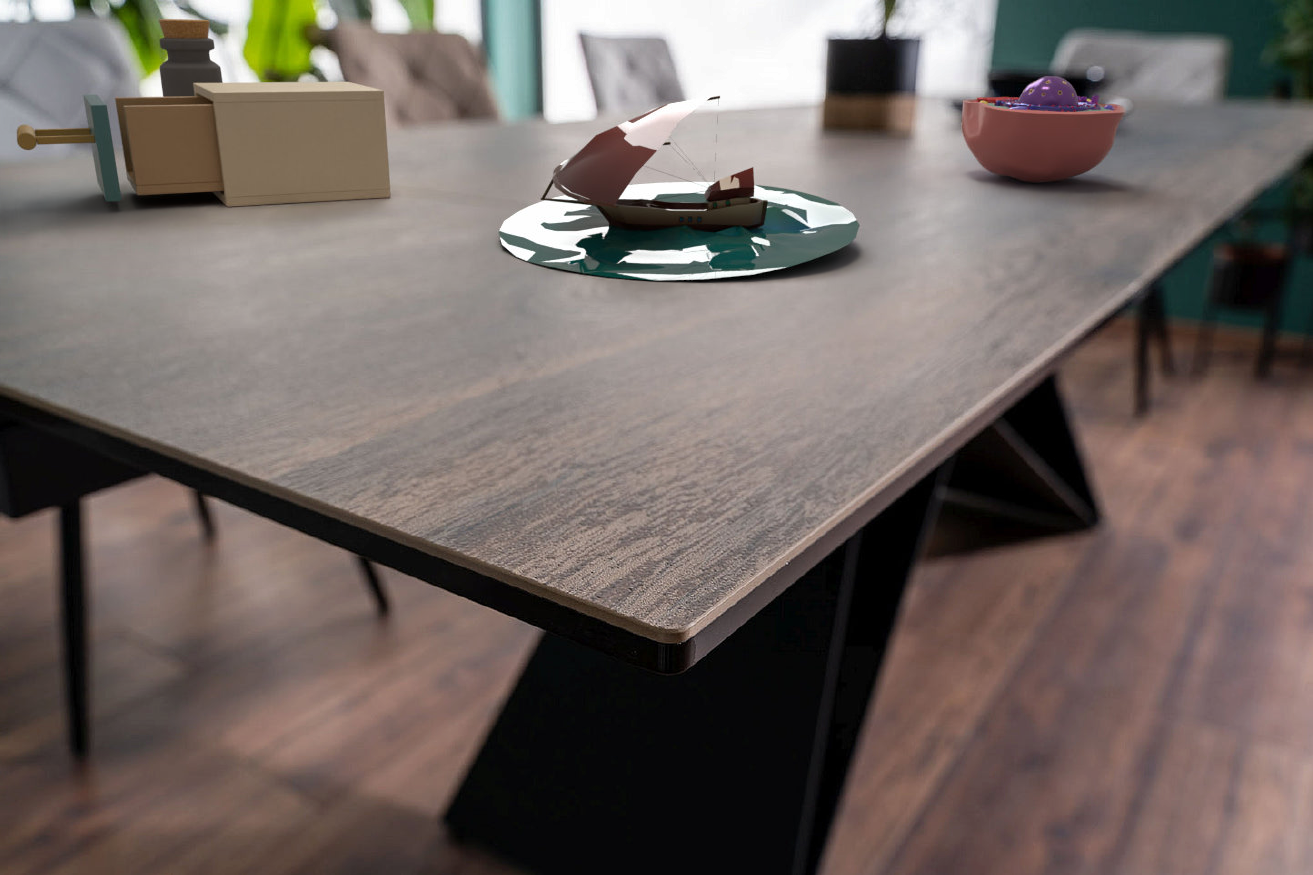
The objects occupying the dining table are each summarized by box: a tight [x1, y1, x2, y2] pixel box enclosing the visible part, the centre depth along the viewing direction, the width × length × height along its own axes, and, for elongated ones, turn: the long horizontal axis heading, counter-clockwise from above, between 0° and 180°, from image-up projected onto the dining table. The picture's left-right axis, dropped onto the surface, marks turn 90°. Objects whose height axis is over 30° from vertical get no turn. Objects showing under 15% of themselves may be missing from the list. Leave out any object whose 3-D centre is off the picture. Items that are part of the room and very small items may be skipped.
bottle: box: [158, 18, 224, 97], centre depth 111 cm, size 6×6×15 cm
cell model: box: [960, 75, 1127, 184], centre depth 121 cm, size 17×20×11 cm
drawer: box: [16, 94, 224, 202], centre depth 96 cm, size 19×11×8 cm, turn 119°
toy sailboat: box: [498, 95, 860, 281], centre depth 83 cm, size 28×28×11 cm
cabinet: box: [193, 81, 392, 208], centre depth 101 cm, size 15×13×10 cm
